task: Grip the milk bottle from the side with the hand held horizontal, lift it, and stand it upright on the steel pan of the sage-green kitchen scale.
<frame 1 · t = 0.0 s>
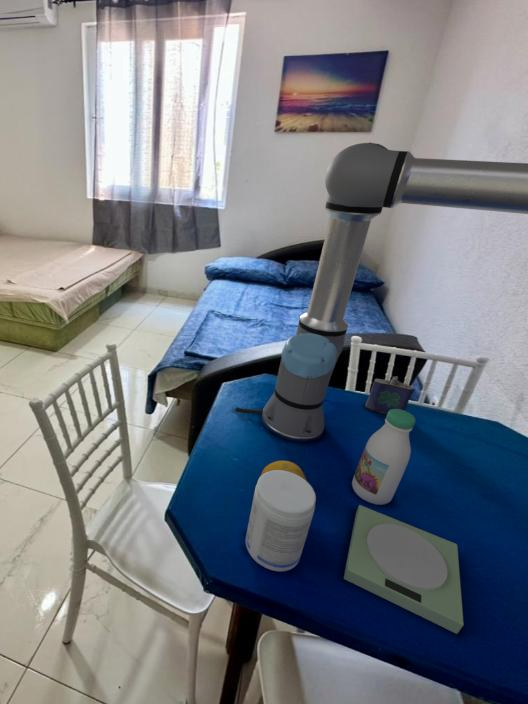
flask: (383, 411, 111), on the table
scale: (399, 565, 71), on the table
supplement tub: (271, 549, 73), on the table
milk bottle: (370, 492, 86), on the table
fruit: (279, 496, 84), on the table
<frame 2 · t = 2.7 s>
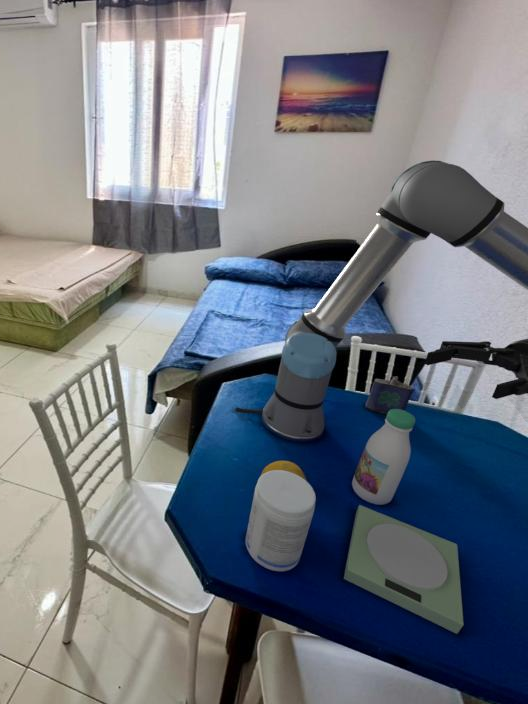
hand: (459, 374, 79), 26 cm above the table, tool horizontal, fingers open, 13 cm apart
nothing on the table moved.
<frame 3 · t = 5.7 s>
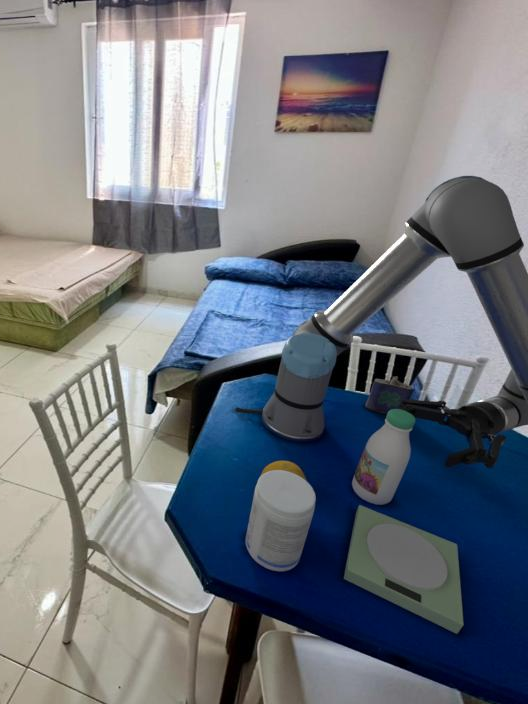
hand: (415, 438, 82), 12 cm above the table, tool horizontal, fingers open, 13 cm apart
nothing on the table moved.
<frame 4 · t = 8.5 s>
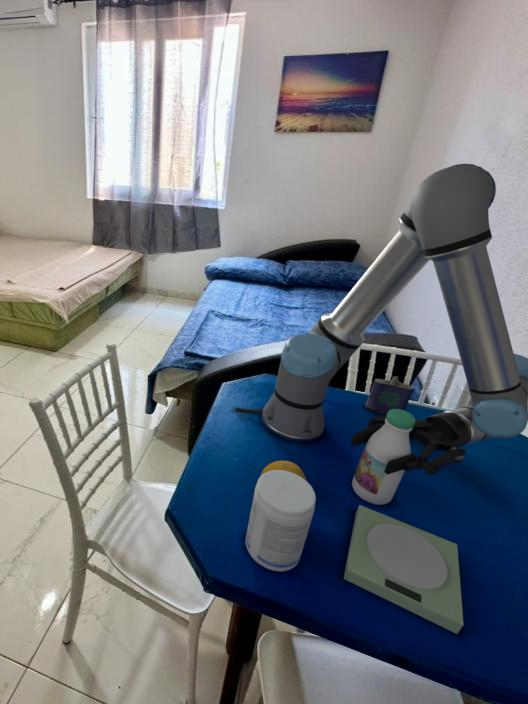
hand: (370, 453, 78), 12 cm above the table, tool horizontal, fingers closed on milk bottle, 7 cm apart
milk bottle: (370, 492, 86), on the table, touching gripper
everything else where it was.
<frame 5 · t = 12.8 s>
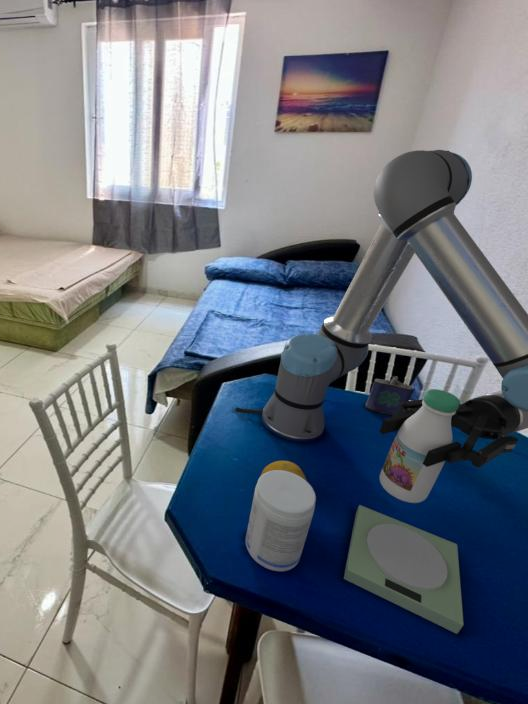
hand: (404, 442, 66), 22 cm above the table, tool horizontal, fingers closed on milk bottle, 7 cm apart
milk bottle: (401, 488, 73), point 10 cm above the table, touching gripper
everything else where it was.
when the fingers open (15 cm above the table, at t = 17.1 s): milk bottle stays where it is, resting on scale.
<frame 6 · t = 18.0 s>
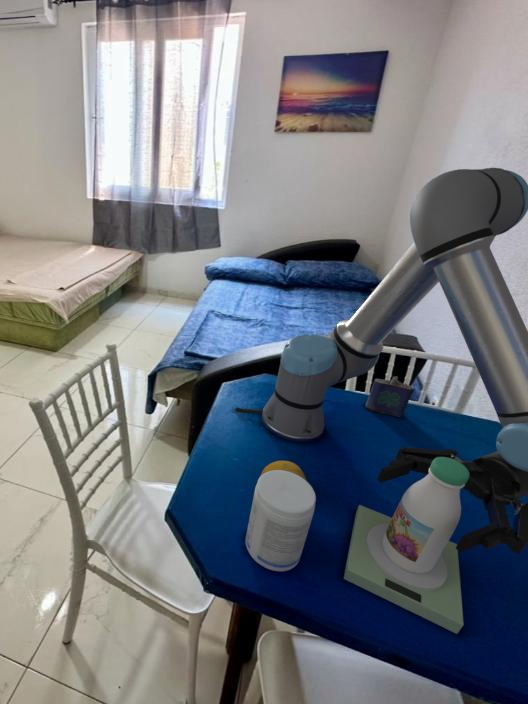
hand: (417, 506, 62), 16 cm above the table, tool horizontal, fingers open, 13 cm apart
milk bottle: (405, 554, 69), point 3 cm above the table, touching scale
everything else where it was.
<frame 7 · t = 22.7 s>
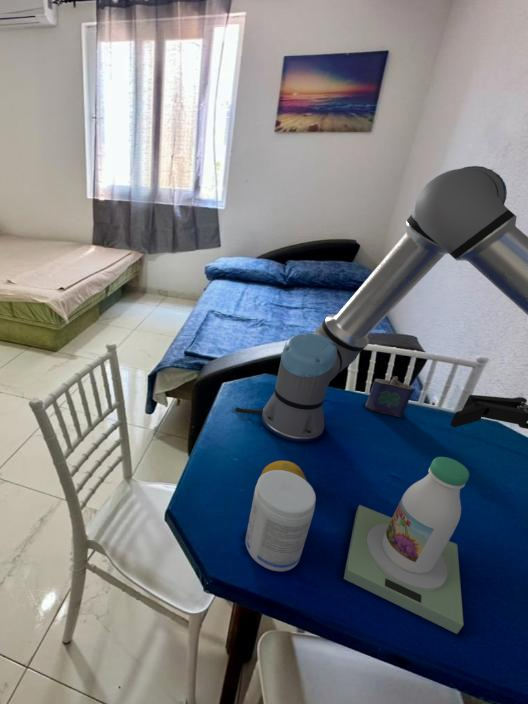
hand: (498, 446, 62), 24 cm above the table, tool horizontal, fingers open, 13 cm apart
nothing on the table moved.
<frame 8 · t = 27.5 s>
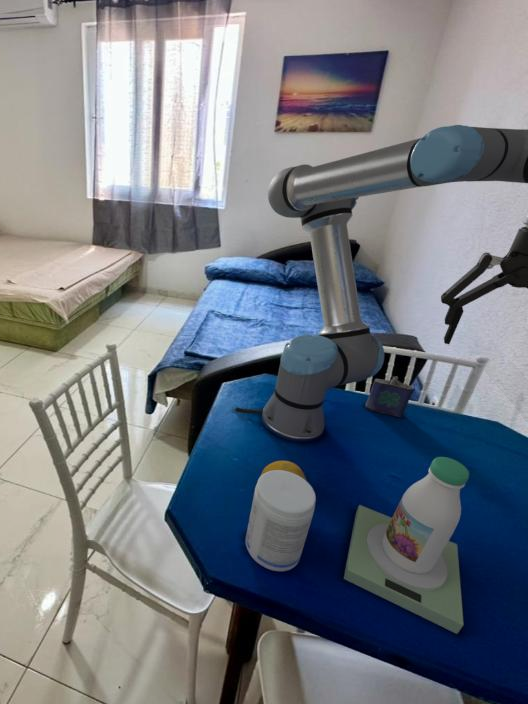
hand: (491, 351, 72), 33 cm above the table, tool pointing down, fingers open, 13 cm apart
nothing on the table moved.
at the end: milk bottle inside the target area on the scale (0.1 cm from its centre), point 3.1 cm above the scale's base; milk bottle tilted 0°; the gripper is holding nothing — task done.
